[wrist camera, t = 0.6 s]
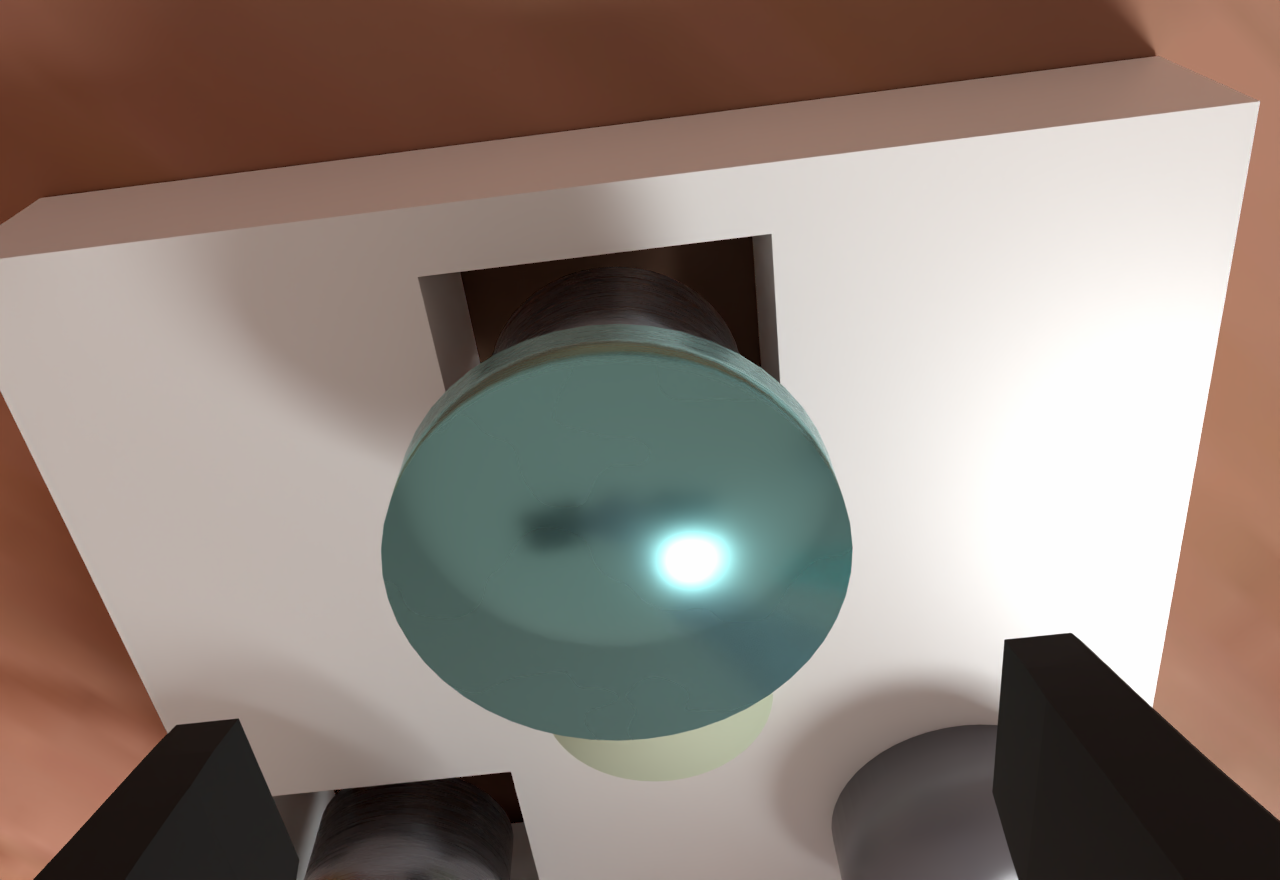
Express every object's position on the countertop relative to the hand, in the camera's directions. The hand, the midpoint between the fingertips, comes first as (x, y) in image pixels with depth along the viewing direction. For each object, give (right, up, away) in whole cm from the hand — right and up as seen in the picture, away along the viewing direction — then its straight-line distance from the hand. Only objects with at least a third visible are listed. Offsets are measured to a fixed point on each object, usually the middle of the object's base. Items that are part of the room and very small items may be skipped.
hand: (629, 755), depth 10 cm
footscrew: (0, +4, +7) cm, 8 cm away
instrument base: (0, 0, +11) cm, 11 cm away
